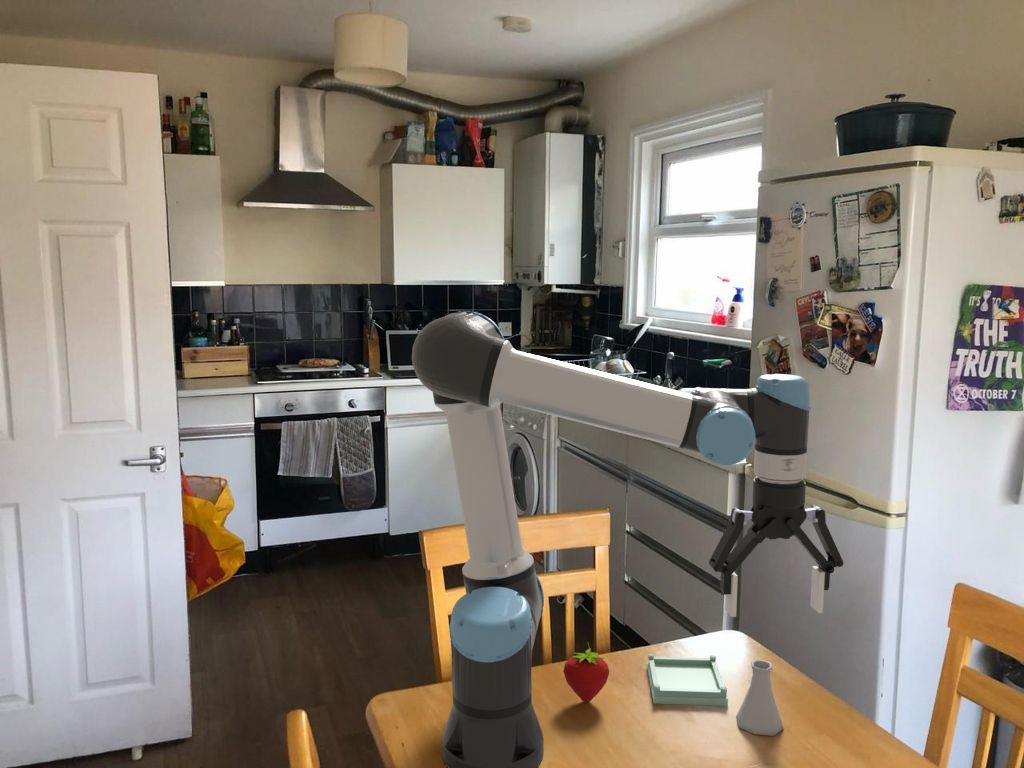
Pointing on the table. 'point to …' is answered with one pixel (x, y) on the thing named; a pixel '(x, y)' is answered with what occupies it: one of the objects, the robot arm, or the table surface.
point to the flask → (760, 703)
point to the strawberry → (586, 674)
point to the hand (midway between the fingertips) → (773, 611)
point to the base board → (686, 681)
